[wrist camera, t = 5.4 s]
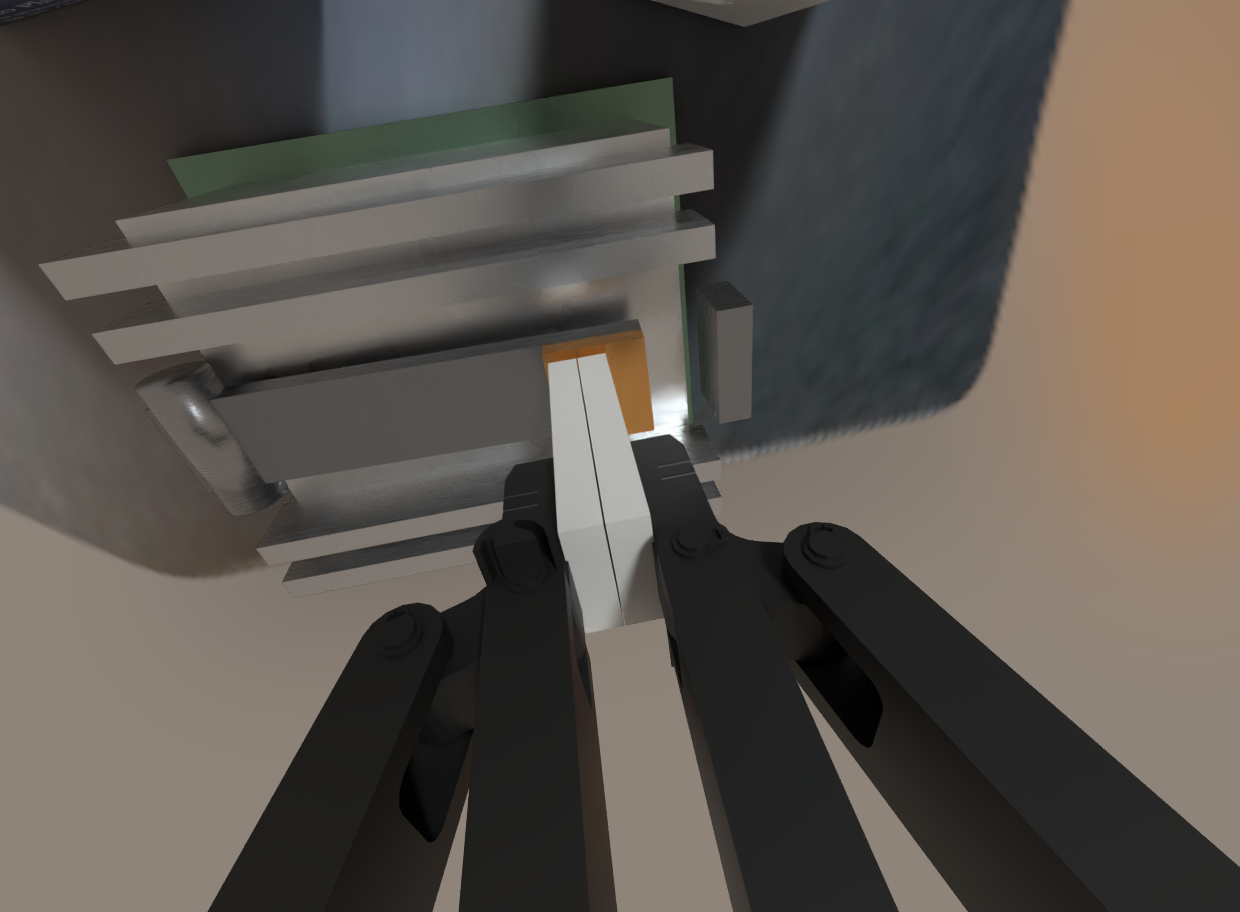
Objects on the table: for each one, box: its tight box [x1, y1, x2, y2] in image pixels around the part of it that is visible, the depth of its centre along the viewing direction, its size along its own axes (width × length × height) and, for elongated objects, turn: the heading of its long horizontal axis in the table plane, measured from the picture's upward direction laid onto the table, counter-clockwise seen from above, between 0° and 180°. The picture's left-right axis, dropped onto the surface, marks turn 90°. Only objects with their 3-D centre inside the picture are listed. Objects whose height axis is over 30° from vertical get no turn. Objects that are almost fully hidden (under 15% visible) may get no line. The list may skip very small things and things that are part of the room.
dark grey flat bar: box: [134, 319, 655, 516], centre depth 16 cm, size 14×4×2 cm, turn 98°
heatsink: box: [38, 77, 753, 598], centre depth 18 cm, size 14×17×9 cm
